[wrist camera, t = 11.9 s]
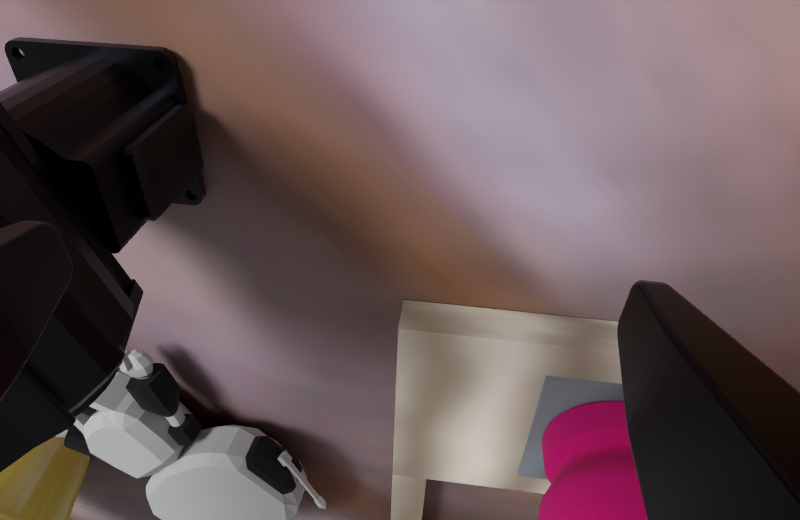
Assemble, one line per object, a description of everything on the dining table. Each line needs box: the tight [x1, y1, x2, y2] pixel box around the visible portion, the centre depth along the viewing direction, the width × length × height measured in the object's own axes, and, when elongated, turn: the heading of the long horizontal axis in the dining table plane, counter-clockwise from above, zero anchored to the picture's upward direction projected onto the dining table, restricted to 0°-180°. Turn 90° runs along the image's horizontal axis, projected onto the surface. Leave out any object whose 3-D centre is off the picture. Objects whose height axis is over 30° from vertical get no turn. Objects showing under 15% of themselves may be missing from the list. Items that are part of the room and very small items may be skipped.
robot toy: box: [56, 349, 326, 520], centre depth 33 cm, size 12×4×15 cm
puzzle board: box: [391, 300, 624, 520], centre depth 31 cm, size 15×22×2 cm
